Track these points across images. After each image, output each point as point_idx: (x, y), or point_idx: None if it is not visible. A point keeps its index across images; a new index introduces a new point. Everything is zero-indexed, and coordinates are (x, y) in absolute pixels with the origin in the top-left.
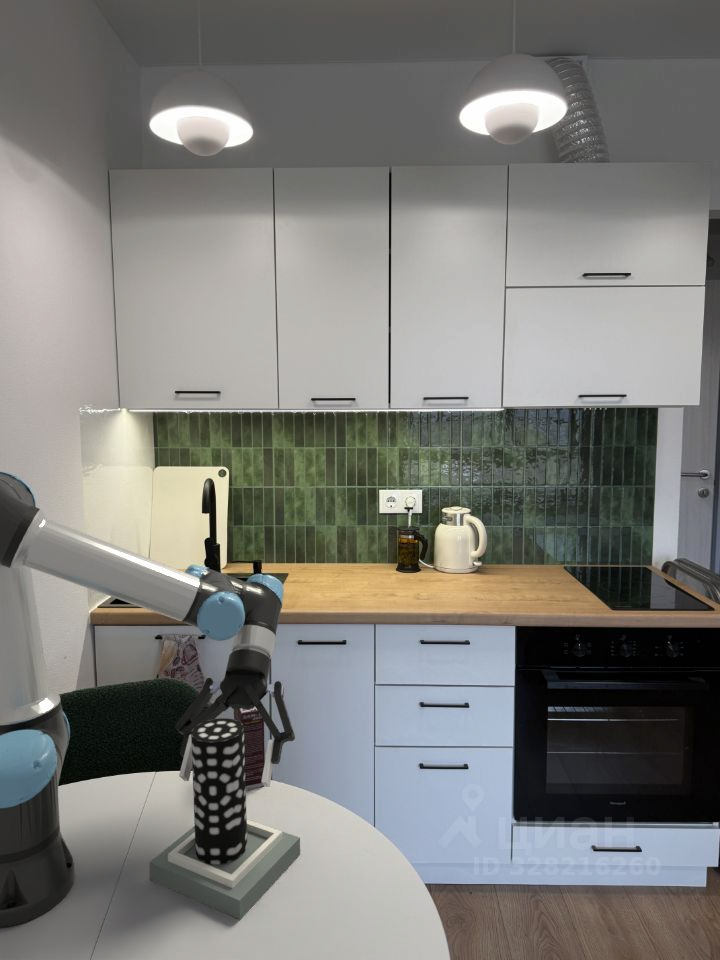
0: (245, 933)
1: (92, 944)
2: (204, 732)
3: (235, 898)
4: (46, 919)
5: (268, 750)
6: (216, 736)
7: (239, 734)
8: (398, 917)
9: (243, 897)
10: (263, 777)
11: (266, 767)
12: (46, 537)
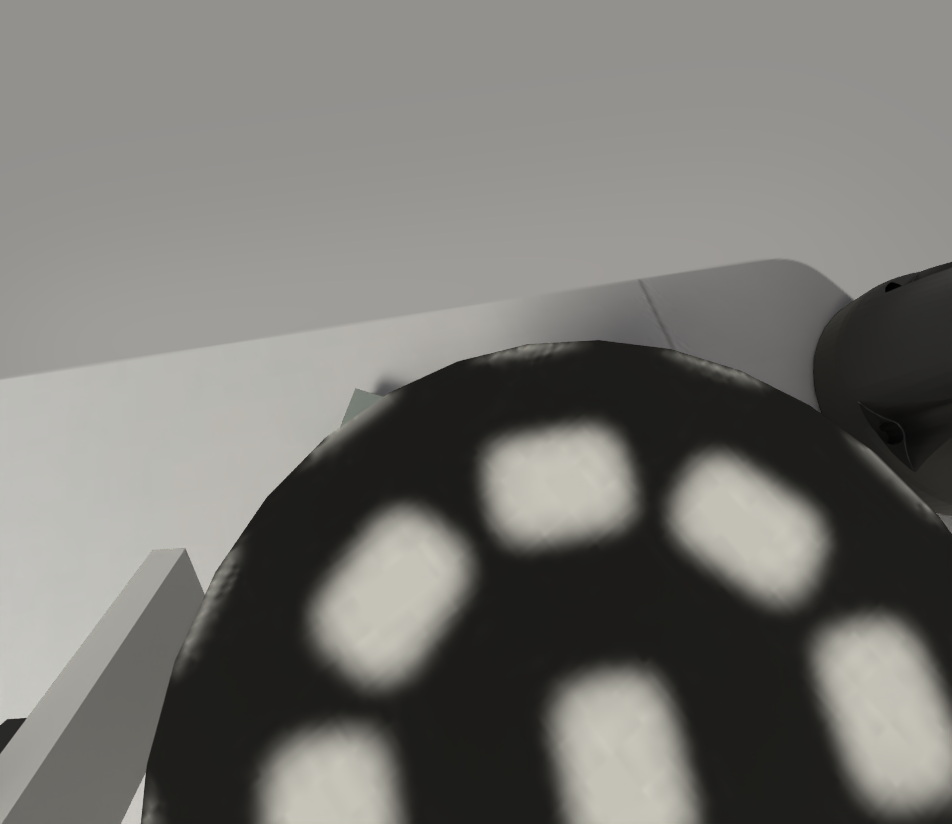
0: (341, 371)
1: (653, 293)
2: (789, 625)
3: (368, 392)
4: (798, 332)
5: (8, 786)
6: (533, 526)
7: (176, 670)
8: None
9: (350, 404)
10: (159, 569)
11: (109, 633)
12: None
